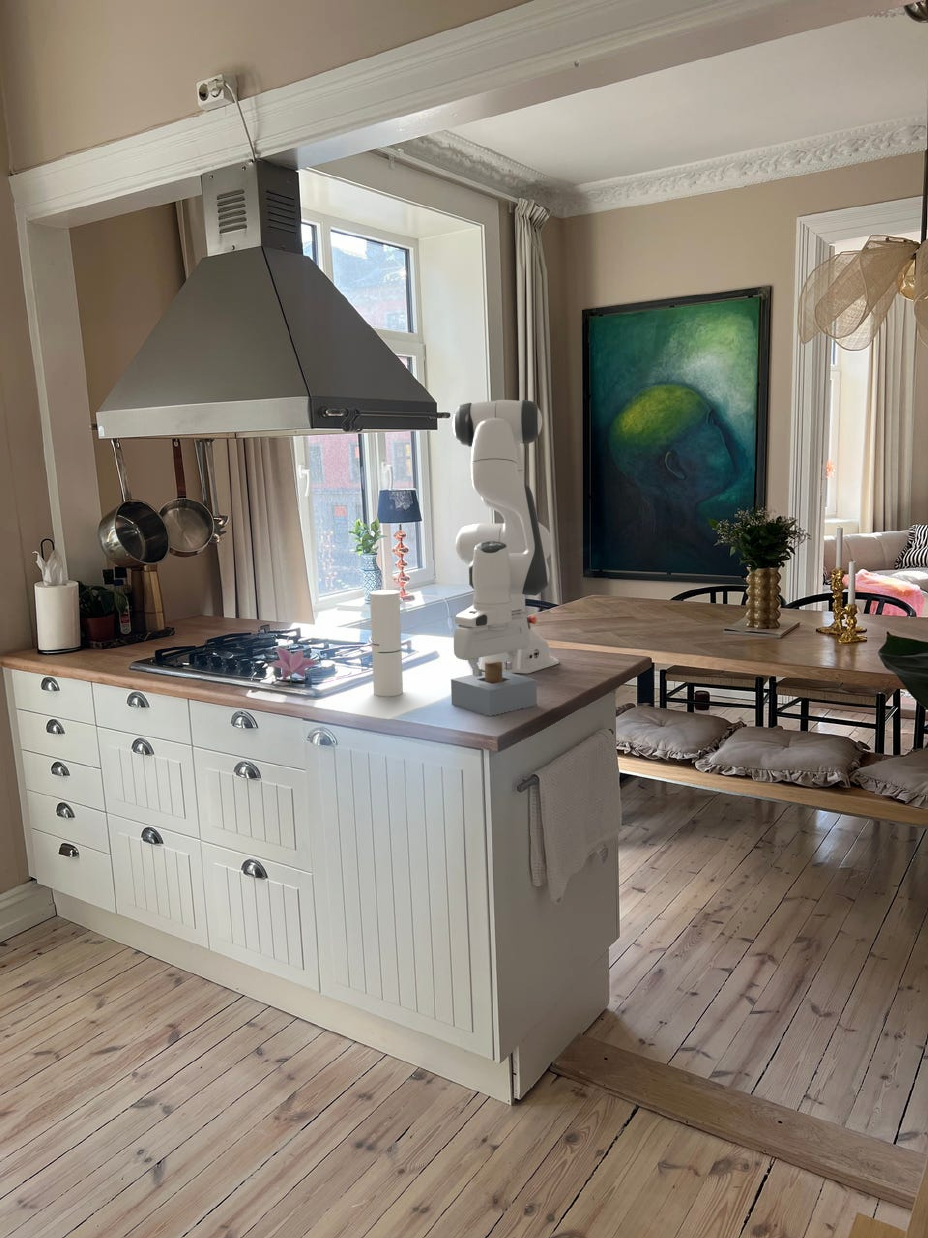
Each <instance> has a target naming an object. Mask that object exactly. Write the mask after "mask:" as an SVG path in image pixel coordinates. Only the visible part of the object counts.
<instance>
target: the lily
mask: <svg viewBox="0 0 928 1238" xmlns="http://www.w3.org/2000/svg"><path fill="white" fill-rule="evenodd" d="M275 651H276V653H277V655H278V658H279V660H276V661H273V662H269V664H268V666H271V667H275V668H278V669H281V677H282V678H283V679H287V678H290V679H289V681H290V683H289V686H290V685H291V686H292V676H293V675H294V674H297V676H301V677H302V678H304V675H305V672H307V670H306V669H309V668H311V667H314V666H317V665H320V664H321V662H320V661H318V660H316V659H313V658H308V657H304V650H302V649H300V650H297V651H296V652H294V653H292V652H291V651H289V650H287V649H285V648H282V647H280V646H276V647H275Z"/></svg>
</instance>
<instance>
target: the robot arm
mask: <svg viewBox="0 0 928 1238" xmlns="http://www.w3.org/2000/svg"><path fill="white" fill-rule="evenodd" d="M542 427H543V417H542V412H541V410H540V409H539V405H538V404H537V403H536V402H535V401H532V400H527V399H522V400H515V399H514V400H513V399H496V400H489V401H482V402H481V401H480V402H474V403H472V402H467V403H463V404H461V405H459V406H458V407H457V408H456V409H455V412H454V415H453V419H452V428H453V429H452V430H453V434H454V436H455V437H456V438H455V439H456V441H457V442H459V444H461V445H464V446H467V447H469V448H471V454H470V455H471V456H470V457H471V458H470V474H471V475H470V476H471V482H472V483H471V484H472V487H473V489H474V490H475V492H476V493H477V494H478V495H479V496H480V497H481V500H482V502H483V504H484V505H485V506H486V507H487V508H489V509H491V510H493V511H494V512H495V511H496V512H497V513H499V514H500V515H501V517H502V519H503V523H476V524H475V523H474V524H470V525H467V526H463V527H462V528H461V529H460V530H459V532H458V534H457V536H456V538H455V539H456V540H455V550H456V553H457V554H458V557H459V559H460V560H462V562H463V563H465V564H467V566H468V580H469V584H468V585H469V587H471V588H472V589H473V591H474V592H473V598H472V605H471V606H470V607H468V608H466V609H464V610H463V611H461V612H459V613H458V614H456V615H455V617H454V623H455V624H456V625H457V626H456V627H455V630H454V635H453V654H454V655H455V657H456V658H457V659H459V660H462V661H467V662H468V664H469V666H470V668H471V669H472V675H473V676H475V677H479V676H482V673H483V672H485V662H487V661H501V662H502V671H505V672H509V673H512V674H530V673H533V672H538V671H540V670H543V669H546V668H549V667H552V666H555V665H558V664H559V659H557V658H556V657H553V656H552V655H551V650H550V645H549V643H548V641H547V640H546V639H545V638H544V637H542V636H541V635H539V634H538V633H537V632H535V630H533V629H532V628H531V624H533V625H536V624H537V623H538V617H537V616H533V615H530V616H528V615H527V613H526V596H537V595H540V594H541V593H542V592H543V591H544V590H546V589H547V587H548V586H549V582H550V577H551V576H550V575H551V574H550V567H549V565H548V561H547V559H548V558H549V556H550V555H551V552H552V550H553V538H552V535H551V533H550V531H549V530H548V529H547V527H545V526H544V525H543V524H542V523H541V522H540V521H539V519H538V514H537V513H538V512H537V508H536V506H535V500H534V495H533V492H532V490H531V488H530V486H529V485H527V484H525V483H524V475H523V474H524V470H523V468H524V466H523V455H522V448H521V444H522V445H523V446H524V448H527V447H528V445H530V444H532V443H533V442H535V441H536V440H537V439H538V438H539V436H540V433H541V430H542ZM479 662H480V663H479ZM478 663H479V664H478Z"/></svg>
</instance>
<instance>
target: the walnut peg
mask: <svg viewBox="0 0 928 1238" xmlns="http://www.w3.org/2000/svg"><path fill="white" fill-rule="evenodd" d="M484 672H485V682H488V683H491V684H493V683H498V682H502V662H501V661H487V662H485V671H484Z"/></svg>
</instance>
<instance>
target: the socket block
mask: <svg viewBox="0 0 928 1238" xmlns="http://www.w3.org/2000/svg"><path fill="white" fill-rule="evenodd" d="M450 687H451V688H450V690H451V692H450V693H451V695H450V696H451V705H453V706H456V707H459V708H461V709H462V708H463V709H465V708H466V709H465V710H468V709H469V710H468V711H471V710H473V711H472V712H474V711H476V712H475V713H477V712H479V713H478V714H480V713H483V714H486V715H489V716H491V717H493V716H492V715H495V716H497V715H496V714H499V715H502V714H501V713H503V714H505V713H504V712H507V713H509V712H508V711H511V712H514V711H513V710H515V711H518V710H517V709H519V710H522V709H521V708H523V709H526V708H530V707H535V706H537V705H538V703H537V702H538V700H537V698H538V697H537V696H538V695H537V694H538V693H537V692H538V691H537V690H538V689H537V687H538V685H537V679H535V678H531V677H527V676H525V675H524V676H523V675H520V674H517V673H509V672H505V671H502V682H498V683H493V684H491V683H488V682H485V671H482V676H479V677H475V676H473V674H470V675H465V676H460V677H455V678H451V679H450ZM483 714H482V715H483ZM486 715H485V716H486ZM489 716H488V717H489Z"/></svg>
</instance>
